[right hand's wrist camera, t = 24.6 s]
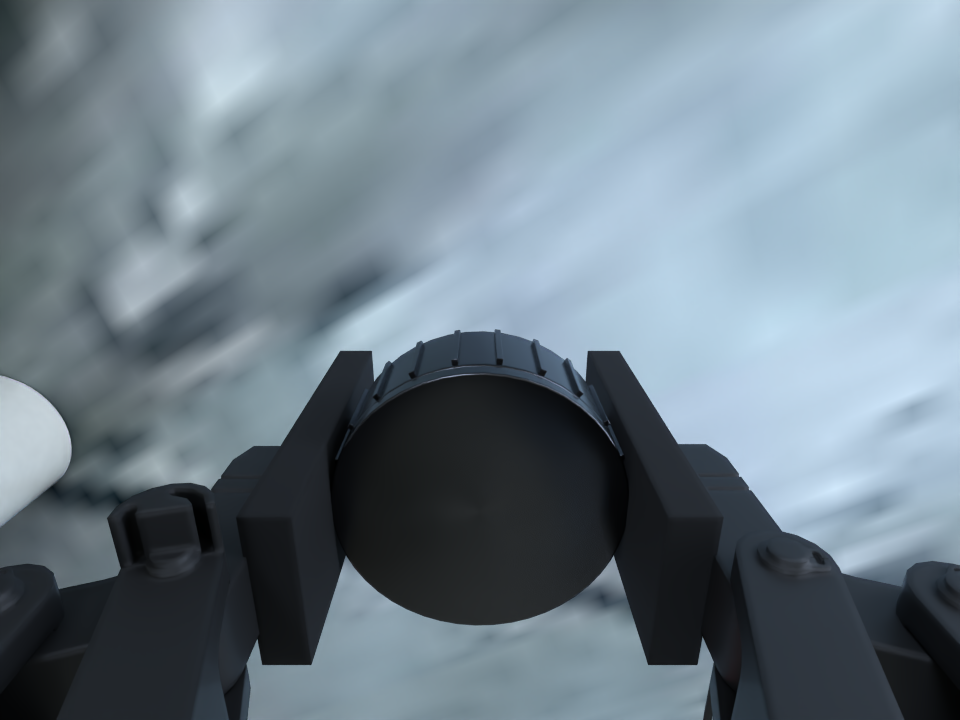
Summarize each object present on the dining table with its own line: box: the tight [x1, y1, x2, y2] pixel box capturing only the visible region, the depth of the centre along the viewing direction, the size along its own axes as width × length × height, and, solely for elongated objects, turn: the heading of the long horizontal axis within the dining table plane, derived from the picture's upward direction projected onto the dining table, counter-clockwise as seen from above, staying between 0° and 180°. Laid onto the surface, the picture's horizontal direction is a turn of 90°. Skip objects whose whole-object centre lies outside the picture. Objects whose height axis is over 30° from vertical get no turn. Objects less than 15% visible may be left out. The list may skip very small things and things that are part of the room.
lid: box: [331, 329, 629, 625], centre depth 11 cm, size 5×5×2 cm
